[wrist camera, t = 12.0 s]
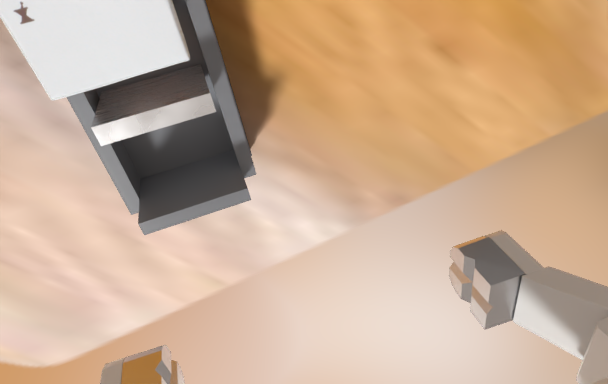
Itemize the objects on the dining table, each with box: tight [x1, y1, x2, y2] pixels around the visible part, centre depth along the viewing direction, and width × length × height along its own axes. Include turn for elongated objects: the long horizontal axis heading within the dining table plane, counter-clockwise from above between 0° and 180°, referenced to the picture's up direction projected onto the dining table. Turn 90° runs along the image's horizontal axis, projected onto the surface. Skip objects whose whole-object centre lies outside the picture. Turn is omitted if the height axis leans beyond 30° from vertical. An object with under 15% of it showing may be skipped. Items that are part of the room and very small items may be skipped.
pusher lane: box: [67, 0, 256, 235], centre depth 25 cm, size 10×24×7 cm, turn 11°
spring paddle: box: [91, 64, 216, 146], centre depth 27 cm, size 7×1×6 cm, turn 101°
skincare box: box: [0, 0, 190, 100], centre depth 21 cm, size 6×4×12 cm
